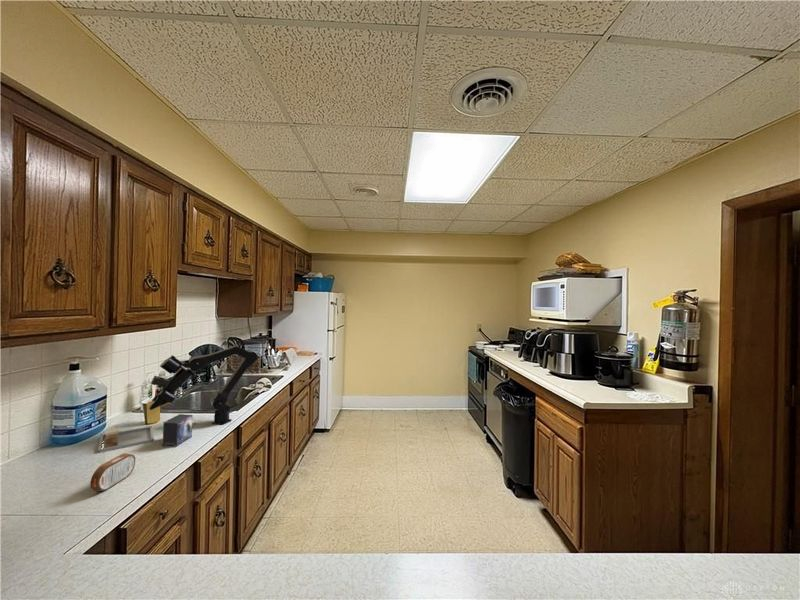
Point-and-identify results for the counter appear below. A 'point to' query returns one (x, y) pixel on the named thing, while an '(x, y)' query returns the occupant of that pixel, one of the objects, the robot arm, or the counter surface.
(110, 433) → the off-white block
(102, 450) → the tray
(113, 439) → the walnut block
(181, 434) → the small box
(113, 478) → the tin
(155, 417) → the mustard box
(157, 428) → the mat
